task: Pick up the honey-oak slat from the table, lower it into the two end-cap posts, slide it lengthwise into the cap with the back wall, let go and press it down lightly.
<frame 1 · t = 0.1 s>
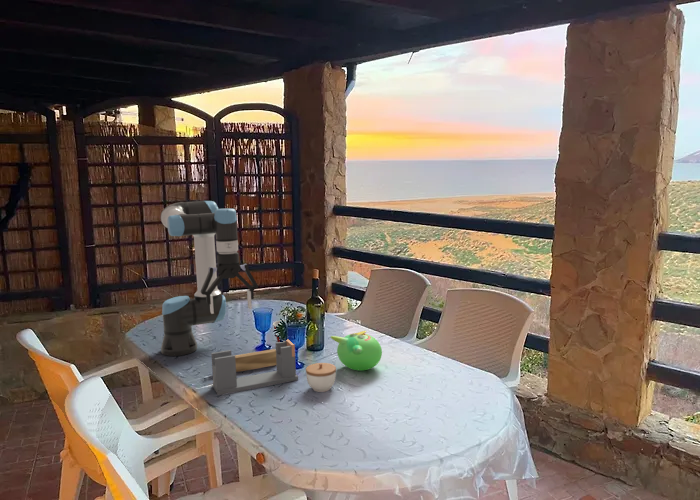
hand: (231, 310, 198), 28 cm above the table, tool pointing down, fingers open, 13 cm apart
toy bird: (358, 369, 215), on the table
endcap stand: (257, 382, 203), on the table
lidded jar: (321, 389, 197), on the table
plastic cup: (286, 350, 239), on the table
slat: (247, 369, 218), on the table
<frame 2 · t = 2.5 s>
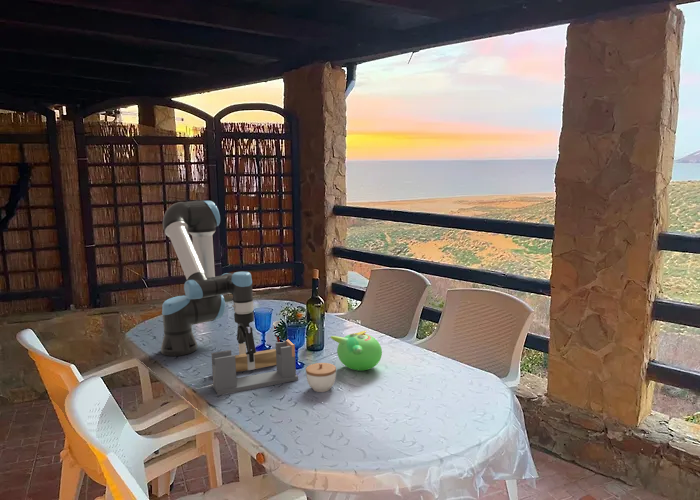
hand: (247, 364, 217), 2 cm above the table, tool pointing down, fingers open, 13 cm apart
nothing on the table moved.
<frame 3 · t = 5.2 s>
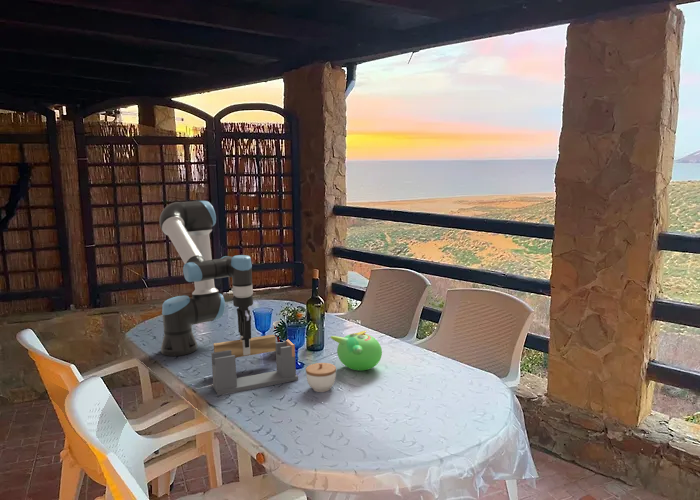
hand: (245, 353, 217), 6 cm above the table, tool pointing down, fingers closed on slat, 3 cm apart
slat: (245, 354, 217), point 6 cm above the table, touching gripper
everything else where it was.
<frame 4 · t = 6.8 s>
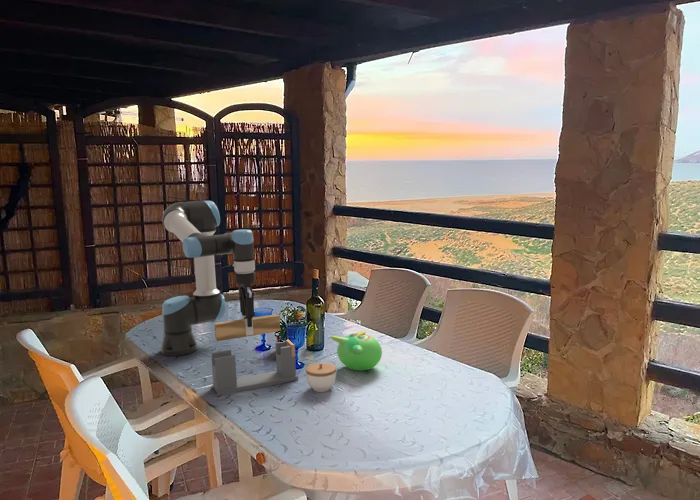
hand: (248, 333, 206), 17 cm above the table, tool pointing down, fingers closed on slat, 3 cm apart
slat: (248, 335, 206), point 17 cm above the table, touching gripper
everything else where it was.
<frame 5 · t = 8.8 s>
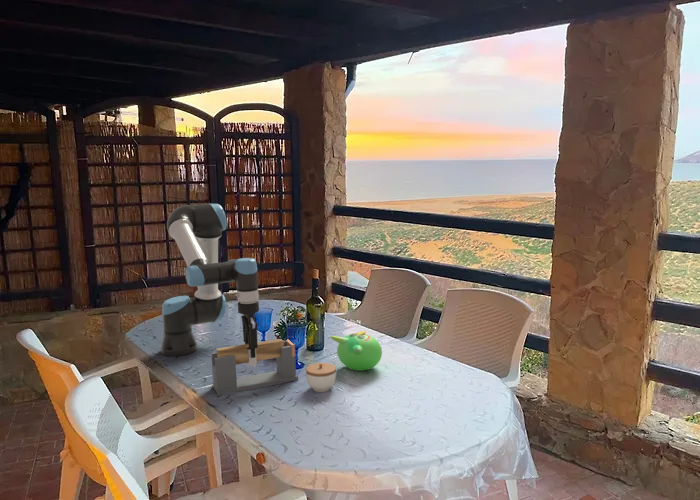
hand: (251, 363, 201), 8 cm above the table, tool pointing down, fingers closed on slat, 3 cm apart
slat: (251, 360, 201), point 9 cm above the table, touching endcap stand, gripper
everything else where it was.
when the fingers open (7 cm above the table, at t = 9.7 s): slat stays where it is, resting on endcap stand.
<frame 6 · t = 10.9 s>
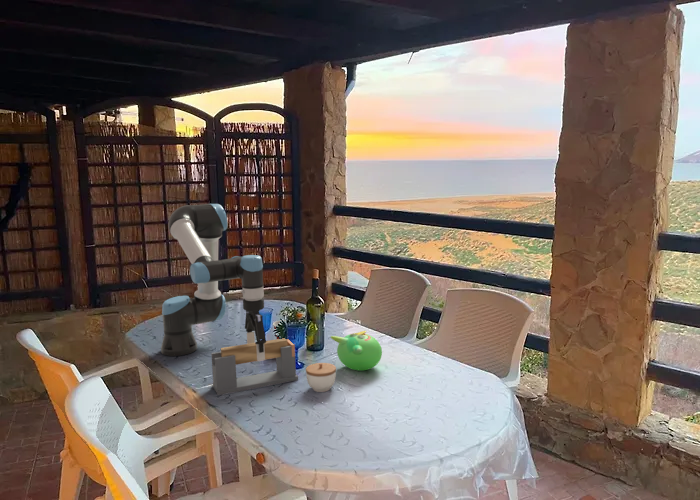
hand: (256, 354, 202), 11 cm above the table, tool pointing down, fingers open, 13 cm apart
slat: (255, 359, 202), point 9 cm above the table, touching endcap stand
everything else where it was.
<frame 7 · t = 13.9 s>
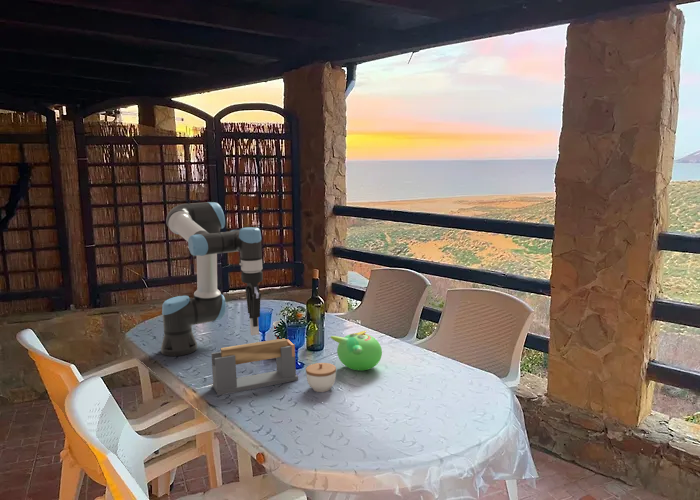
hand: (254, 334, 201), 19 cm above the table, tool pointing down, fingers closed
nothing on the table moved.
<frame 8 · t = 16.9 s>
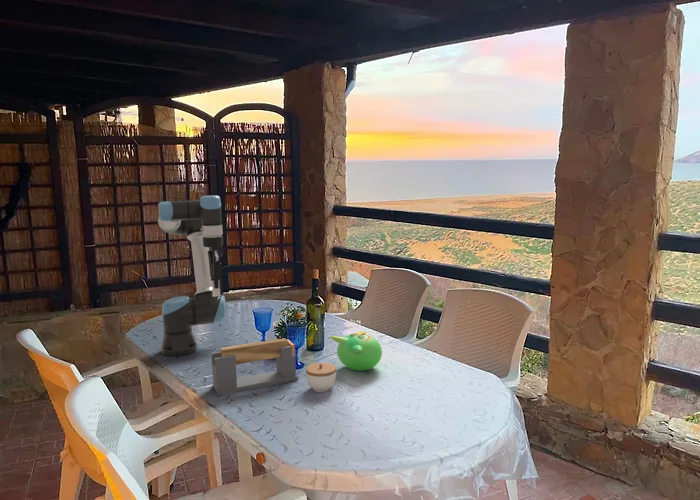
hand: (216, 295, 215), 29 cm above the table, tool pointing down, fingers closed
nothing on the table moved.
at the end: slat 0.6 cm off-centre on the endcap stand, point 9.0 cm above the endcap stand's base; slat tilted 0°; the gripper is holding nothing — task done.
